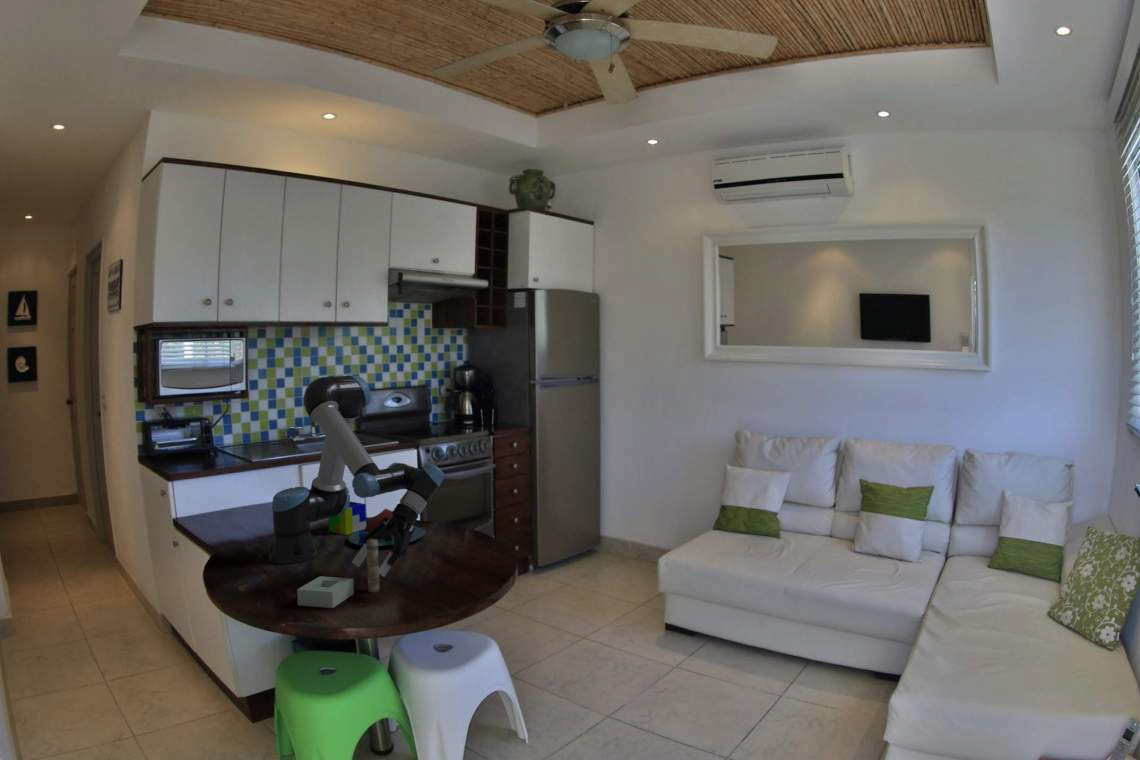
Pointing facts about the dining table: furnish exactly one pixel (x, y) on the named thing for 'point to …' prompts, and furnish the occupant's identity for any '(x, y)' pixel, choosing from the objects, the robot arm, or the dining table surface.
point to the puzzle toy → (349, 519)
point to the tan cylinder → (373, 565)
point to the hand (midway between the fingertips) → (367, 569)
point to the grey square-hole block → (325, 592)
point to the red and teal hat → (388, 540)
